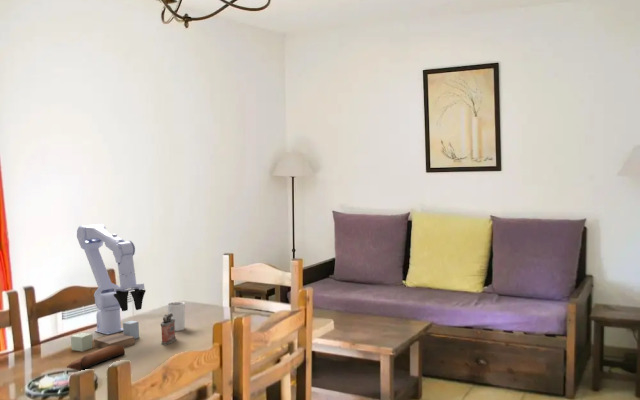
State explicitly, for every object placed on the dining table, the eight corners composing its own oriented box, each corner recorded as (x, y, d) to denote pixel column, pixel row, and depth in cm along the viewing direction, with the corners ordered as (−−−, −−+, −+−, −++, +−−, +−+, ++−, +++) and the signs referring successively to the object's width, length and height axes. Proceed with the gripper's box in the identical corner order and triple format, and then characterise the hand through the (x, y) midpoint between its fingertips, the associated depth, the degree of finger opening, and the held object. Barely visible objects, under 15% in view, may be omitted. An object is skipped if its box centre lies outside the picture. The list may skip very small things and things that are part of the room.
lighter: (168, 344, 221) (167, 317, 220) (159, 344, 222) (158, 317, 221) (177, 338, 229) (176, 311, 228) (169, 338, 229) (168, 311, 229)
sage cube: (71, 350, 218) (70, 336, 218) (82, 346, 223) (81, 332, 223) (82, 351, 216) (81, 337, 216) (93, 347, 221) (92, 333, 220)
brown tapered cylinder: (107, 351, 215) (113, 336, 213) (120, 364, 212) (127, 348, 210) (64, 367, 199) (70, 351, 197) (77, 381, 196) (84, 364, 194)
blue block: (123, 338, 231) (122, 322, 231) (132, 336, 234) (132, 320, 234) (129, 340, 229) (129, 324, 228) (139, 337, 232) (138, 321, 231)
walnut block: (94, 347, 222) (93, 339, 222) (119, 340, 230) (118, 332, 230) (109, 352, 216) (109, 343, 215) (134, 345, 223) (134, 337, 223)
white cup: (183, 330, 239) (182, 305, 239) (166, 331, 240) (165, 305, 239) (187, 326, 246) (186, 301, 245) (170, 326, 246) (169, 301, 246)
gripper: (105, 277, 231) (110, 313, 231) (131, 273, 224) (136, 311, 223) (120, 274, 237) (125, 309, 237) (146, 271, 230) (151, 307, 229)
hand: (131, 310), depth 230 cm, fingers open, 7 cm apart
